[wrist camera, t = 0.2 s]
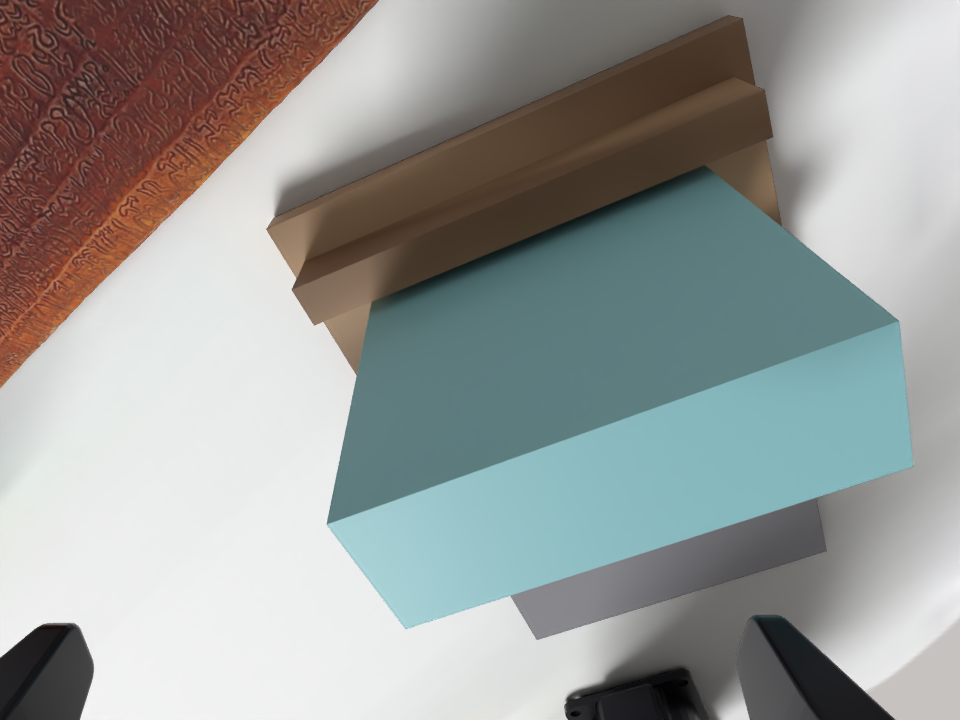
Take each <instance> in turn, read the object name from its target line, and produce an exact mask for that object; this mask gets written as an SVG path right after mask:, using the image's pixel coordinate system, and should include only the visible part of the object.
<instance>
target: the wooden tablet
mask: <svg viewBox="0 0 960 720" xmlns="http://www.w3.org/2000/svg"><path fill="white" fill-rule="evenodd" d="M378 1H379V0H0V388H1V387H2V386H3V385H4V383H5V382H6V381H7V380H8V379H9V378H10V377H11V376H12V375H13V373H14V372H15V371H16V370H17V369H18V368H19V367H20V366H21V365H22V363H23V362H24V361H25V360H26V359H27V358H28V357H29V356H30V355H31V354H32V353H33V352H34V351H35V350H36V349H37V348H39V347H40V345H41V344H42V343H43V342H45V341H46V340H47V338H48V337H49V336H50V335H51V334H52V333H53V332H54V331H55V330H56V329H57V327H58V326H59V325H60V324H61V323H62V322H63V321H65V320H66V319H67V317H68V316H69V315H70V314H71V313H72V312H73V310H75V309H76V308H77V307H78V306H79V305H80V304H81V303H82V301H83V300H84V298H86V297H87V296H88V295H89V294H90V293H92V291H93V290H94V289H95V288H96V287H97V286H98V285H99V284H100V283H101V282H102V281H103V280H104V279H105V278H106V277H107V276H108V275H109V274H111V273H112V272H113V271H114V270H115V269H116V268H117V267H118V266H119V265H120V264H121V263H122V262H123V261H124V260H125V259H126V258H127V257H128V256H129V255H130V254H131V253H133V252H134V251H135V250H136V249H137V248H138V247H139V246H140V245H141V244H142V243H143V242H144V241H145V240H146V239H147V238H148V237H149V236H150V235H151V234H152V233H153V232H154V231H155V230H156V229H157V228H158V227H159V225H160V224H161V223H162V222H163V221H165V220H166V219H167V218H168V217H169V216H170V215H171V214H172V213H173V212H174V211H175V210H176V209H177V208H178V207H179V206H180V205H181V204H182V203H183V202H184V201H185V200H186V199H187V198H188V197H190V196H191V195H192V194H193V193H194V192H195V191H196V190H197V189H198V188H199V187H200V186H201V185H202V184H203V183H204V182H205V181H206V180H207V179H208V177H209V176H210V175H211V174H212V173H213V172H214V171H215V170H216V169H217V168H218V167H219V166H220V164H221V163H222V162H223V161H224V160H225V159H226V158H227V157H228V156H229V155H230V154H231V153H232V152H233V151H234V150H235V149H236V148H237V147H238V146H239V145H240V144H241V143H242V142H243V141H244V140H245V139H246V138H247V137H248V136H249V135H250V134H251V133H252V132H253V131H254V129H255V128H256V127H257V126H258V125H259V124H260V123H261V121H262V120H263V119H264V118H265V117H266V116H267V115H268V114H269V113H270V112H271V111H272V110H273V109H274V108H275V107H276V106H278V105H279V104H280V103H281V102H282V101H283V100H284V99H285V98H286V96H287V95H288V94H289V93H290V92H291V90H293V89H294V88H295V87H296V86H298V85H299V84H300V83H301V81H302V80H303V79H304V78H305V77H306V76H307V75H308V74H309V73H310V72H311V71H312V70H313V69H314V68H316V67H317V66H318V65H319V64H320V63H321V62H322V61H323V60H324V59H325V57H326V56H327V55H328V54H329V53H330V52H331V51H332V50H333V49H334V48H335V47H336V46H337V45H338V44H339V43H340V42H341V41H342V40H343V39H344V38H345V37H346V36H347V35H348V33H349V32H350V31H351V30H352V29H353V28H354V27H355V26H356V25H357V24H358V22H359V21H360V20H361V19H362V18H363V17H364V16H365V15H366V13H367V12H368V11H369V10H370V9H371V8H372V7H373V6H375V4H376V3H377V2H378Z"/></svg>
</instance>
